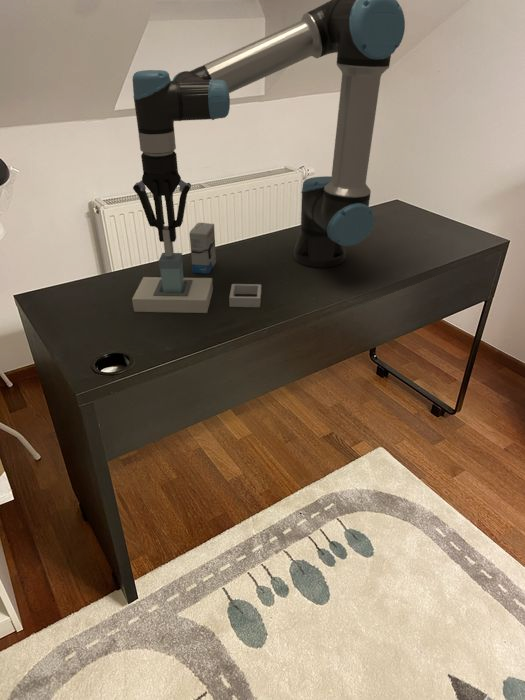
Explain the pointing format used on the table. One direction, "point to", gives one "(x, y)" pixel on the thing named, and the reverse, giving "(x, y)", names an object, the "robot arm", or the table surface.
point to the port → (173, 296)
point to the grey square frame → (245, 301)
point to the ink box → (203, 248)
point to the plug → (172, 273)
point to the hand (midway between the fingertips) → (169, 253)
